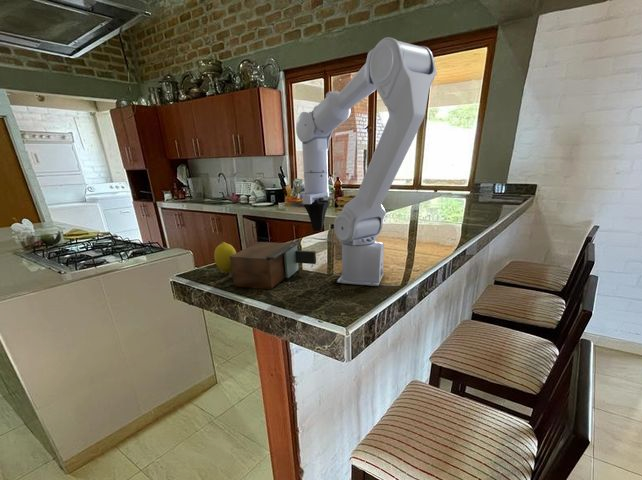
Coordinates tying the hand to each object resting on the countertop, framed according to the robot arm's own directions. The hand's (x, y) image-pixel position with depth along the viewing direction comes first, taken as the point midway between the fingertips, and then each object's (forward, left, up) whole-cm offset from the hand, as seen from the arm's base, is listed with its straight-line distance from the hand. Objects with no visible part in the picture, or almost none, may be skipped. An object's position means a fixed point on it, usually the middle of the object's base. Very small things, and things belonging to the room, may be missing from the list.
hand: (317, 230), depth 85 cm
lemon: (+21, +11, -10) cm, 25 cm away
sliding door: (+2, +9, -9) cm, 13 cm away
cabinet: (+10, +12, -9) cm, 18 cm away
